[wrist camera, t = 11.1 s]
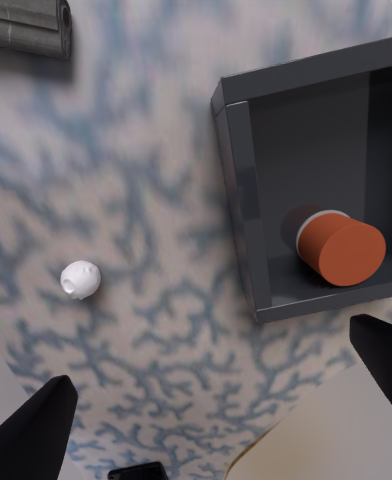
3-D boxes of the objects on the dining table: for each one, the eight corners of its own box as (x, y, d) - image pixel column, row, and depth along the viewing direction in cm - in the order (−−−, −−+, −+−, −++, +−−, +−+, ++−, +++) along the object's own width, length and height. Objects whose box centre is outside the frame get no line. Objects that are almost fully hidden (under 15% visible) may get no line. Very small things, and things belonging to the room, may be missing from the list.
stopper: (353, 260, 19) (384, 278, 16) (299, 271, 19) (319, 292, 16) (355, 207, 17) (388, 217, 14) (295, 220, 17) (317, 232, 14)
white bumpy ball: (100, 290, 20) (87, 311, 17) (65, 278, 19) (45, 299, 17) (110, 260, 19) (98, 277, 16) (74, 247, 18) (55, 263, 16)
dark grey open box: (396, 257, 20) (453, 284, 16) (242, 290, 21) (257, 325, 16) (416, 50, 15) (506, 9, 11) (210, 98, 15) (220, 77, 11)
